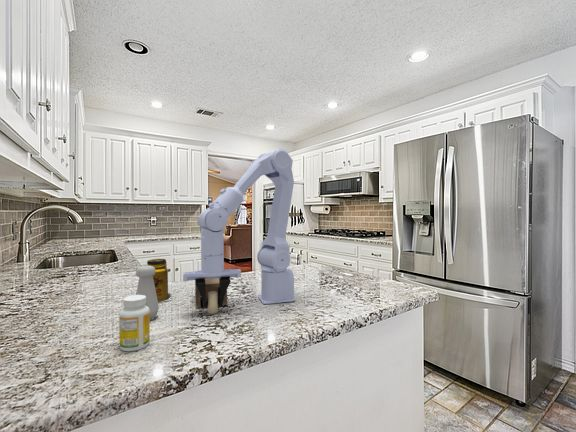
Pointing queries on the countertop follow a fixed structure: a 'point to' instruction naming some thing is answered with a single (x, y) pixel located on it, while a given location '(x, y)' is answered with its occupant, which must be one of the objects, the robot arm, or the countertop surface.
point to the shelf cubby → (209, 284)
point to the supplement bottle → (134, 323)
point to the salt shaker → (148, 288)
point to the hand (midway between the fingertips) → (212, 306)
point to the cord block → (212, 299)
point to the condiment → (160, 279)
